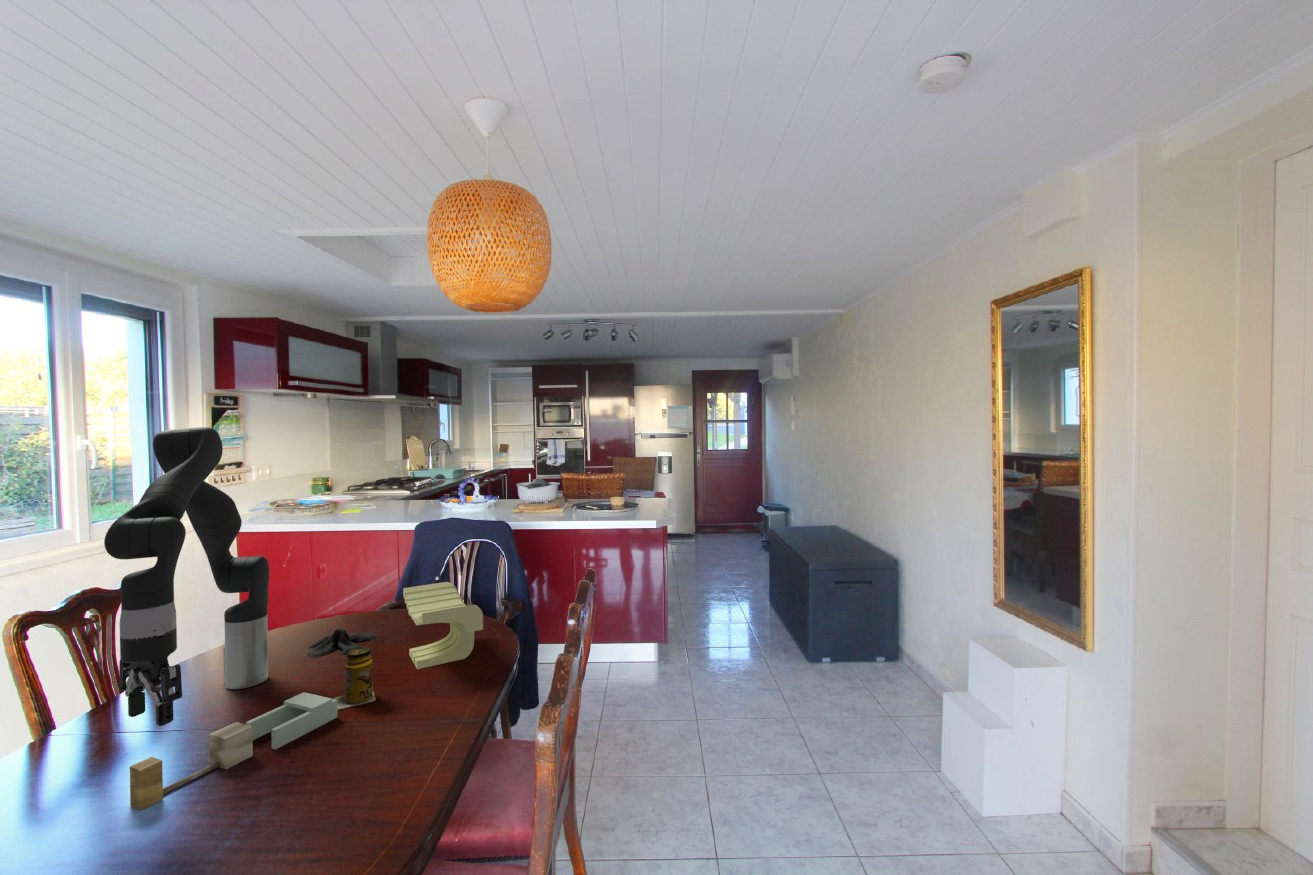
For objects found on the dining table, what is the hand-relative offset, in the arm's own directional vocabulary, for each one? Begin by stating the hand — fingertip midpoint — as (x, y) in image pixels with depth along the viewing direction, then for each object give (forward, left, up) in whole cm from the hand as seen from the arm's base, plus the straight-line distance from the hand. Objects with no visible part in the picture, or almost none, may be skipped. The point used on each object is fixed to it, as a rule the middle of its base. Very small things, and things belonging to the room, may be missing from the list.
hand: (150, 719), depth 100 cm
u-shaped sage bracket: (0, +26, -15) cm, 30 cm away
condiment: (+1, +41, -15) cm, 44 cm away
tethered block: (0, +7, -14) cm, 16 cm away
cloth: (-36, +65, -15) cm, 76 cm away
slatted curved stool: (+1, +70, -15) cm, 72 cm away
